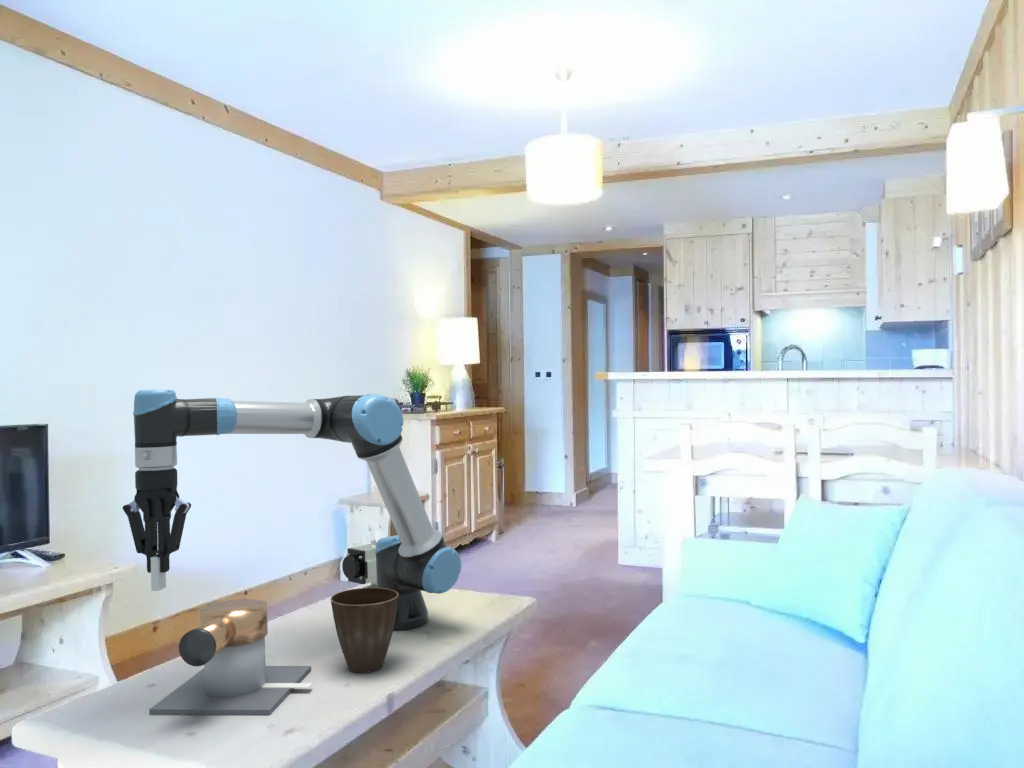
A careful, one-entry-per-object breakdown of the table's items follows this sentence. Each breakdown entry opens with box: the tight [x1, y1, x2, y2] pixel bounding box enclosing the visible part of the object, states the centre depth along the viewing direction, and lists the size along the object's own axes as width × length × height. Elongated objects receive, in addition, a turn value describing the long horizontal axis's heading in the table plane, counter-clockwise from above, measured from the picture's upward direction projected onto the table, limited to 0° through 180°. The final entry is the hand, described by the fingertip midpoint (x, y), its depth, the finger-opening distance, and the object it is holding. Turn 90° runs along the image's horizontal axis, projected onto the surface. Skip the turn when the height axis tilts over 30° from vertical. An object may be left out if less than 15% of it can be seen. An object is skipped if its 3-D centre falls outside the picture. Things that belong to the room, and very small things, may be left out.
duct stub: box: [148, 636, 314, 716], centre depth 163 cm, size 28×24×11 cm
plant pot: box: [330, 587, 398, 674], centre depth 175 cm, size 15×15×16 cm
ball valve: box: [341, 539, 377, 588], centre depth 232 cm, size 18×8×18 cm, turn 138°
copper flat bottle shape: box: [178, 598, 269, 667], centre depth 158 cm, size 23×13×7 cm, turn 176°
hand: (158, 588), depth 153 cm, fingers closed
